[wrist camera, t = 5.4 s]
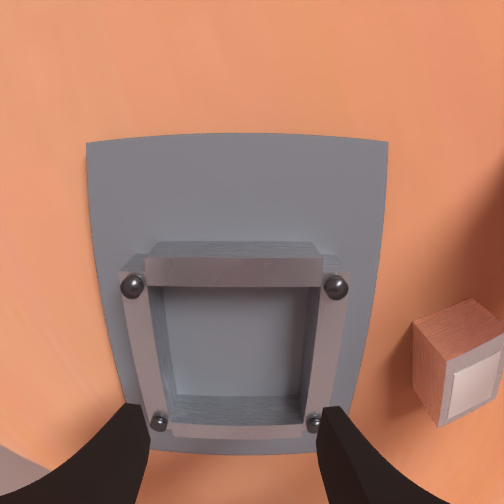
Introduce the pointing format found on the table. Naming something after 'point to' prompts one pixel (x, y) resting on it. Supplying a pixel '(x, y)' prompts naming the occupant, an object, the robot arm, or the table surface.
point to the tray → (237, 281)
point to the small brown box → (457, 360)
